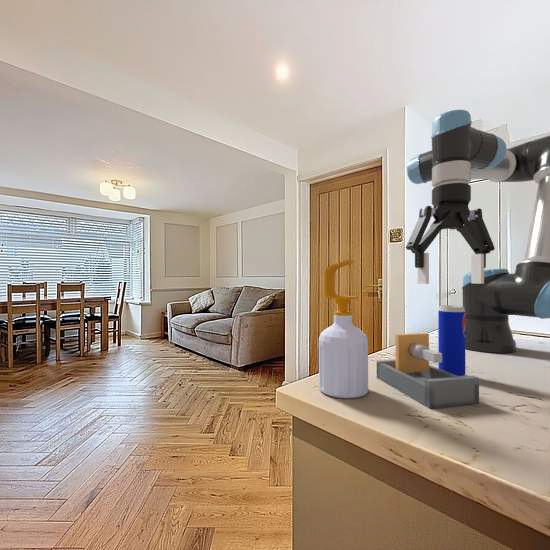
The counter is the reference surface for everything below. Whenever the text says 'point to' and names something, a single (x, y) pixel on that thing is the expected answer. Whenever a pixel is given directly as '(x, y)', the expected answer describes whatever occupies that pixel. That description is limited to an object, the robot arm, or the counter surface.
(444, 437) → the counter surface
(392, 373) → the grey tray
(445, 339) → the beverage can
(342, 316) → the soap bottle
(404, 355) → the pusher
